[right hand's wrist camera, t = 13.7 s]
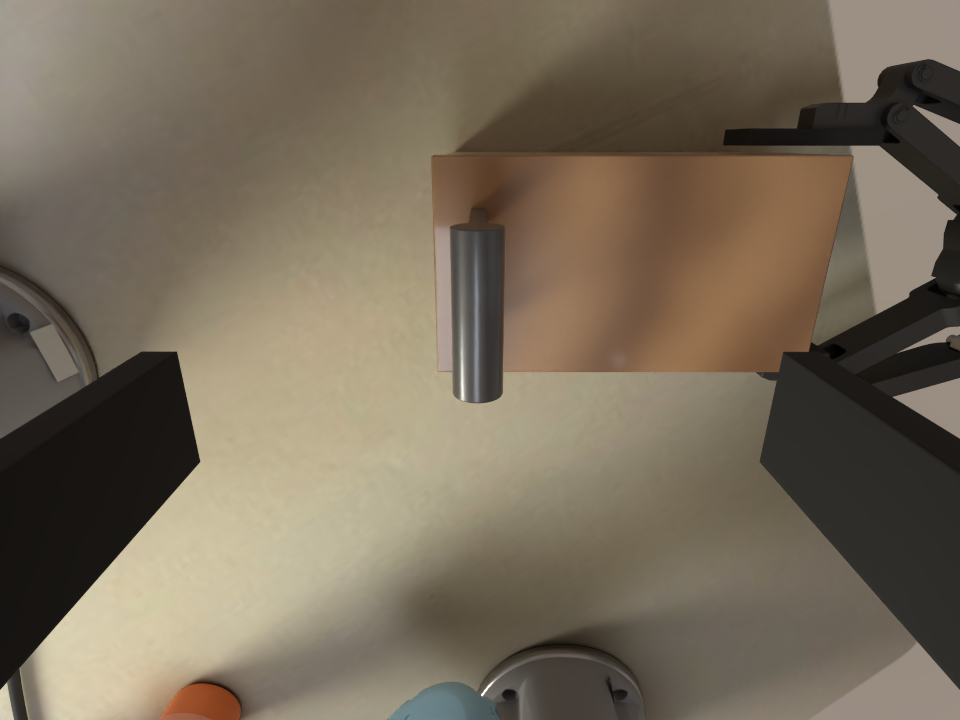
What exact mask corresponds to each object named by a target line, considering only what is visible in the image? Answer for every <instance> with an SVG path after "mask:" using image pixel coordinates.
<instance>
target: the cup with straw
mask: <svg viewBox="0 0 960 720" xmlns="http://www.w3.org/2000/svg"><path fill="white" fill-rule="evenodd" d="M240 715H241V707H240V704H239V702H238V700H237V699H236V698H235V697H234V696H233V695H232V694H231V693H230V692H228V691H227V690H225V689H223V688H221V687H219V686H215V685H211V684H193V685H189V686H187V687H185V688H183V689H181V690H180V691H179V692H178V693H177V694H176V696H175V697H174V698H173V700H172V701H171V703H170V704H169V706H168V707H167V709H166V710H165V712H164V713H163V715H162V716H161V718H160V719H159V720H239V719H240Z"/></svg>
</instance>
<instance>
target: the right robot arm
mask: <svg viewBox="0 0 960 720" xmlns="http://www.w3.org/2000/svg"><path fill="white" fill-rule="evenodd" d="M199 463H200V458H199V454H198V449H197V444H196V439H195V435H194V430H193V425H192V421H191V416H190V411H189V406H188V402H187V397H186V392H185V388H184V383H183V378H182V373H181V369H180V364H179V359H178V355H177V352H140V353H139V354H137V355H135V356H134V357H132V358H131V359H129V360H127V361H126V362H124V363H122V364H121V365H119V366H118V367H116V368H114V369H113V370H111V371H109V372H108V373H106V374H105V375H103V376H101V377H100V378H98V379H97V374H96V369H95V365H94V361H93V358H92V356H91V353H90V350H89V348H88V346H87V344H86V342H85V340H84V338H83V337H82V335H81V333H80V331H79V330H78V329H77V327H76V326H75V324H74V323H73V321H72V320H71V319H70V318H69V317H68V315H67V314H66V313H65V312H64V311H63V310H62V309H61V308H60V306H59V305H58V304H57V303H56V302H54V301H53V300H52V299H51V298H50V297H49V296H48V295H47V294H45V293H44V292H43V291H41V290H40V289H39V288H38V287H36V286H35V285H33V284H32V283H30V282H29V281H27V280H26V279H24V278H22V277H20V276H19V275H17V274H15V273H13V272H11V271H9V270H6V269H4V268H2V267H0V689H1V688H2V687H3V686H4V685H5V684H6V683H7V684H8V690H9V696H10V701H11V706H12V711H13V716H14V720H28V717H27V712H26V707H25V702H24V696H23V690H22V684H21V677H20V670H19V668H20V667H21V665H22V664H23V663H24V662H25V661H26V660H27V659H28V658H29V656H30V655H31V654H32V653H33V652H34V651H35V650H36V648H37V647H38V646H39V645H40V644H41V643H42V642H43V640H44V639H45V638H46V637H47V636H48V635H49V634H50V632H51V631H52V630H53V629H54V628H55V627H56V626H57V624H58V623H59V622H60V621H61V620H62V619H63V618H64V616H65V615H66V614H67V613H68V612H69V611H70V610H71V609H72V607H73V606H74V605H75V604H76V603H77V602H78V601H79V599H80V598H81V597H82V596H83V595H84V594H85V593H86V591H87V590H88V589H89V588H90V587H91V586H92V585H93V583H94V582H95V581H96V580H97V579H98V578H99V577H100V575H101V574H102V573H103V572H104V571H105V570H106V569H107V568H108V566H109V565H110V564H111V563H112V562H113V561H114V560H115V558H116V557H117V556H118V555H119V554H120V553H121V552H122V550H123V549H124V548H125V547H126V546H127V545H128V544H129V542H130V541H131V540H132V539H133V538H134V537H135V536H136V534H137V533H138V532H139V531H140V530H141V529H142V528H143V526H144V525H145V524H146V523H147V522H148V521H149V520H150V519H151V517H152V516H153V515H154V514H155V513H156V512H157V511H158V509H159V508H160V507H161V506H162V505H163V504H164V503H165V501H166V500H167V499H168V498H169V497H170V496H171V495H172V493H173V492H174V491H175V490H176V489H177V488H178V487H179V485H180V484H181V483H182V482H183V481H184V480H185V479H186V478H187V476H188V475H189V474H190V473H191V472H192V471H193V470H194V468H195V467H196V466H197V465H198V464H199ZM760 463H761V464H762V465H763V466H764V467H765V468H766V470H767V471H768V472H769V473H770V474H771V475H772V476H773V478H774V479H775V480H776V481H777V482H778V483H779V484H780V485H781V487H782V488H783V489H784V490H785V491H786V492H787V493H788V495H789V496H790V497H791V498H792V499H793V500H794V501H795V503H796V504H797V505H798V506H799V507H800V508H801V509H802V511H803V512H804V513H805V514H806V515H807V516H808V517H809V519H810V520H811V521H812V522H813V523H814V524H815V525H816V526H817V528H818V529H819V530H820V531H821V532H822V533H823V534H824V536H825V537H826V538H827V539H828V540H829V541H830V542H831V544H832V545H833V546H834V547H835V548H836V549H837V550H838V552H839V553H840V554H841V555H842V556H843V557H844V558H845V560H846V561H847V562H848V563H849V564H850V565H851V566H852V568H853V569H854V570H855V571H856V572H857V573H858V574H859V575H860V577H861V578H862V579H863V580H864V581H865V582H866V583H867V585H868V586H869V587H870V588H871V589H872V590H873V591H874V593H875V594H876V595H877V596H878V597H879V598H880V599H881V601H882V602H883V603H884V604H885V605H886V606H887V607H888V609H889V610H890V611H891V612H892V613H893V614H894V615H895V617H896V618H897V619H898V620H899V621H900V622H901V623H902V624H903V626H904V627H905V628H906V629H907V630H908V631H909V632H910V634H911V635H912V636H913V637H914V638H915V639H916V640H917V642H918V643H919V644H920V645H921V646H922V647H923V648H924V650H925V651H926V652H927V653H928V654H929V655H930V656H931V657H932V659H933V660H934V661H935V662H936V663H937V664H938V665H939V667H940V668H941V669H942V670H943V671H944V672H945V673H946V675H947V676H948V677H949V678H950V679H951V680H952V681H953V683H954V684H955V685H956V686H957V687H958V688H959V689H960V439H959V438H958V437H956V436H954V435H953V434H951V433H950V432H948V431H946V430H945V429H943V428H941V427H940V426H938V425H936V424H935V423H933V422H932V421H930V420H928V419H927V418H925V417H924V416H922V415H920V414H919V413H917V412H915V411H914V410H912V409H911V408H909V407H907V406H906V405H904V404H902V403H901V402H899V401H898V400H896V399H894V398H893V397H891V396H889V395H888V394H886V393H885V392H883V391H881V390H880V389H878V388H877V387H875V386H873V385H872V384H870V383H868V382H867V381H865V380H864V379H862V378H860V377H859V376H857V375H855V374H854V373H852V372H851V371H849V370H847V369H846V368H844V367H842V366H841V365H839V364H838V363H836V362H834V361H833V360H831V359H829V358H828V357H826V356H825V355H823V354H821V353H820V352H783V355H782V359H781V364H780V369H779V373H778V378H777V383H776V388H775V392H774V397H773V402H772V406H771V411H770V416H769V421H768V425H767V430H766V435H765V439H764V444H763V449H762V454H761V458H760Z"/></svg>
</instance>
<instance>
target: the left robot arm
mask: <svg viewBox="0 0 960 720" xmlns="http://www.w3.org/2000/svg"><path fill="white" fill-rule="evenodd" d="M878 87H879V88H878V89H877V91H876V93H875V94H874V96H873V97H872V98H871V99H870V100H869V101H867V102H866V103H822V104H813V105H810V106H807V107H805V108H802V109H801V111H800V116H799V121H798V126H797V129H733V130H725V136H724V143H723V145H768V146H857V145H860V146H866V145H867V146H869V145H871V146H872V145H873V146H877V145H878V146H880V147H882V148H883V149H884V150H885V151H886V152H888V153H889V154H890V155H891V156H893V157H894V158H895V159H896V160H897V161H899V162H900V163H901V164H902V165H903V166H905V167H906V168H907V169H908V170H910V171H911V172H912V173H913V174H914V175H916V176H917V177H918V178H919V179H920V180H922V181H923V182H924V183H925V184H927V185H928V186H929V187H930V188H931V189H933V190H934V191H935V192H936V193H937V194H938V195H939V196H938V199H939V200H940V201H941V202H942V203H944V204H945V205H946V206H947V207H948V208H950V209H951V210H952V211H953V212H954V213H956V214H957V216H956V217H955V218H954V220H948V222H947V225H946V229H945V232H944V244H943V250H942V252H941V253H940V255H939V257H938V259H937V260H936V262H935V265H934V269H933V272H932V275H931V276H933V277H936V278H935V279H933V280H931V281H929V282H927V283H925V284H923V285H922V286H920V287H918V288H916V289H914V290H912V291H911V292H910V293H909V298H907V299H905V300H904V301H902V302H900V303H898V304H896V305H894V306H892V307H890V308H888V309H886V310H885V311H883V312H881V313H879V314H877V315H875V316H873V317H871V318H869V319H867V320H866V321H864V322H862V323H860V324H858V325H856V326H854V327H852V328H850V329H848V330H847V331H845V332H843V333H841V334H839V335H837V336H835V337H833V338H831V339H829V340H828V341H826V342H824V343H822V344H820V345H818V346H817V345H815V344H813V343H812V342H811V344H810V348H809V352H820V353H821V354H823V355H825V356H826V357H828V358H829V359H831V360H833V361H834V362H836V363H838V364H839V365H841V366H842V367H844V368H846V369H847V370H849V371H851V372H852V373H854V374H855V375H857V376H859V377H860V378H862V379H864V380H865V381H867V382H868V383H870V384H872V385H873V386H875V387H877V388H878V389H880V390H881V391H883V392H885V393H886V394H888V395H889V396H891V397H894V396H897V395H901V394H904V393H908V392H911V391H915V390H918V389H922V388H925V387H929V386H932V385H936V384H940V383H943V382H947V381H950V380H954V379H957V378H960V335H958V336H955V335H950V336H949V337H947V339H946V342H944V343H933V344H928V345H924V346H920V347H917V348H913V349H910V350H906V351H903V352H900V353H898V352H899V351H901V350H903V349H905V348H907V347H909V346H911V345H913V344H915V343H917V342H919V341H921V340H923V339H925V338H927V337H929V336H931V335H933V334H935V333H937V332H939V331H941V330H943V329H945V328H947V327H958V326H960V147H959V146H958V145H957V144H956V143H955V142H953V141H952V140H951V139H950V138H949V137H948V136H946V135H945V134H944V133H943V132H942V131H941V130H939V129H938V128H937V127H936V126H935V125H934V124H932V123H931V122H930V121H929V120H928V119H927V118H925V117H924V116H923V115H922V114H921V113H920V112H919V111H917V110H916V109H915V108H914V107H913V105H916V106H918V107H920V108H923V109H925V110H928V111H930V112H933V113H935V114H937V115H940V116H942V117H945V118H947V119H949V120H952V121H954V122H957V123H959V124H960V71H958V70H955V69H953V68H951V67H948V66H946V65H944V64H941V63H939V62H937V61H934V60H930V59H927V60H922V61H916V62H911V63H905V64H900V65H895V66H890V67H887V68H886V69H884V70H883V71H882V72H881V74H880V75H879V78H878ZM756 373H757V374H759V375H760V376H761V377H763V378H765V379H768V380H777V378H778V373H779V372H756ZM388 720H646V717H645V710H644V703H643V699H642V696H641V692H640V689H639V686H638V683H637V681H636V679H635V678H634V676H633V675H632V673H631V672H630V671H629V670H628V669H627V668H626V667H625V666H624V665H623V664H622V663H621V662H619V661H618V660H616V659H615V658H613V657H611V656H610V655H608V654H605V653H603V652H601V651H598V650H595V649H591V648H588V647H583V646H576V645H549V646H542V647H537V648H533V649H529V650H526V651H523V652H521V653H518V654H516V655H514V656H512V657H510V658H508V659H506V660H505V661H503V662H502V663H500V664H499V665H498V666H497V667H495V668H494V669H493V670H492V671H491V672H490V673H489V674H488V676H487V677H486V678H485V679H484V681H483V682H482V684H481V686H480V688H479V691H478V692H476V691H475V690H474V689H472V688H471V687H469V686H467V685H465V684H462V683H459V682H444V683H440V684H436V685H433V686H431V687H428V688H426V689H424V690H423V691H421V692H419V693H418V694H417V695H416V696H415V697H414V698H413V699H412V700H408V701H406V702H405V703H404V704H403V705H402V706H401V707H400V708H398V709H397V710H396V711H395V712H394V713H393V714H392V715H391V716H390V718H389V719H388Z"/></svg>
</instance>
